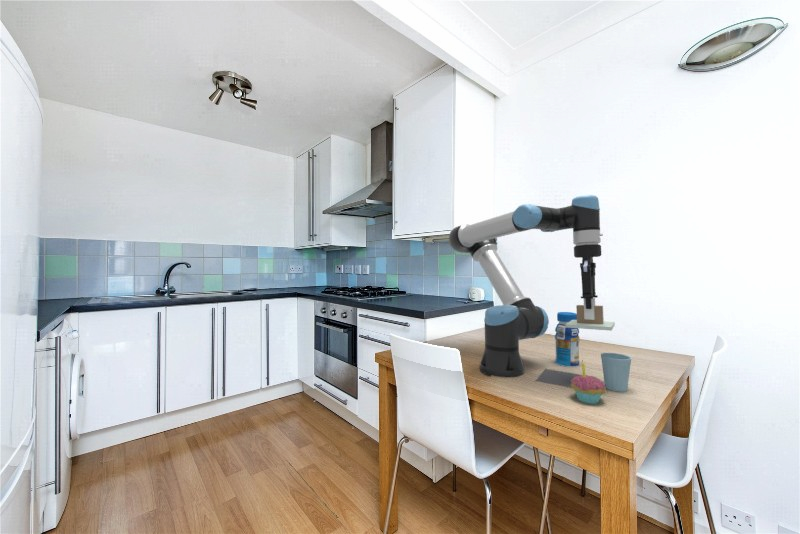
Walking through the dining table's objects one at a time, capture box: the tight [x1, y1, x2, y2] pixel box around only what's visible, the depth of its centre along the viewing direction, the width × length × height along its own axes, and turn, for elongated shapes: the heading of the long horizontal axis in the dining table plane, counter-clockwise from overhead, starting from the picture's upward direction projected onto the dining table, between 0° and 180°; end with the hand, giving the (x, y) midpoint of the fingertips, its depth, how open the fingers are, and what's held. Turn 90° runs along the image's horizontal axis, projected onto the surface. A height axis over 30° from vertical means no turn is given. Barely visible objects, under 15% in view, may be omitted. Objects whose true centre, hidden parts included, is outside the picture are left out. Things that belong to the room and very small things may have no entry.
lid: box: [565, 304, 615, 332], centre depth 101 cm, size 12×12×6 cm
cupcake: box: [571, 359, 607, 405], centre depth 89 cm, size 9×8×12 cm
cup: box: [600, 352, 632, 393], centre depth 97 cm, size 8×8×10 cm
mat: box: [535, 368, 580, 389], centre depth 105 cm, size 15×15×1 cm
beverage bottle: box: [554, 311, 581, 368], centre depth 122 cm, size 8×8×20 cm
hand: (590, 318), depth 101 cm, fingers closed on lid, 2 cm apart
